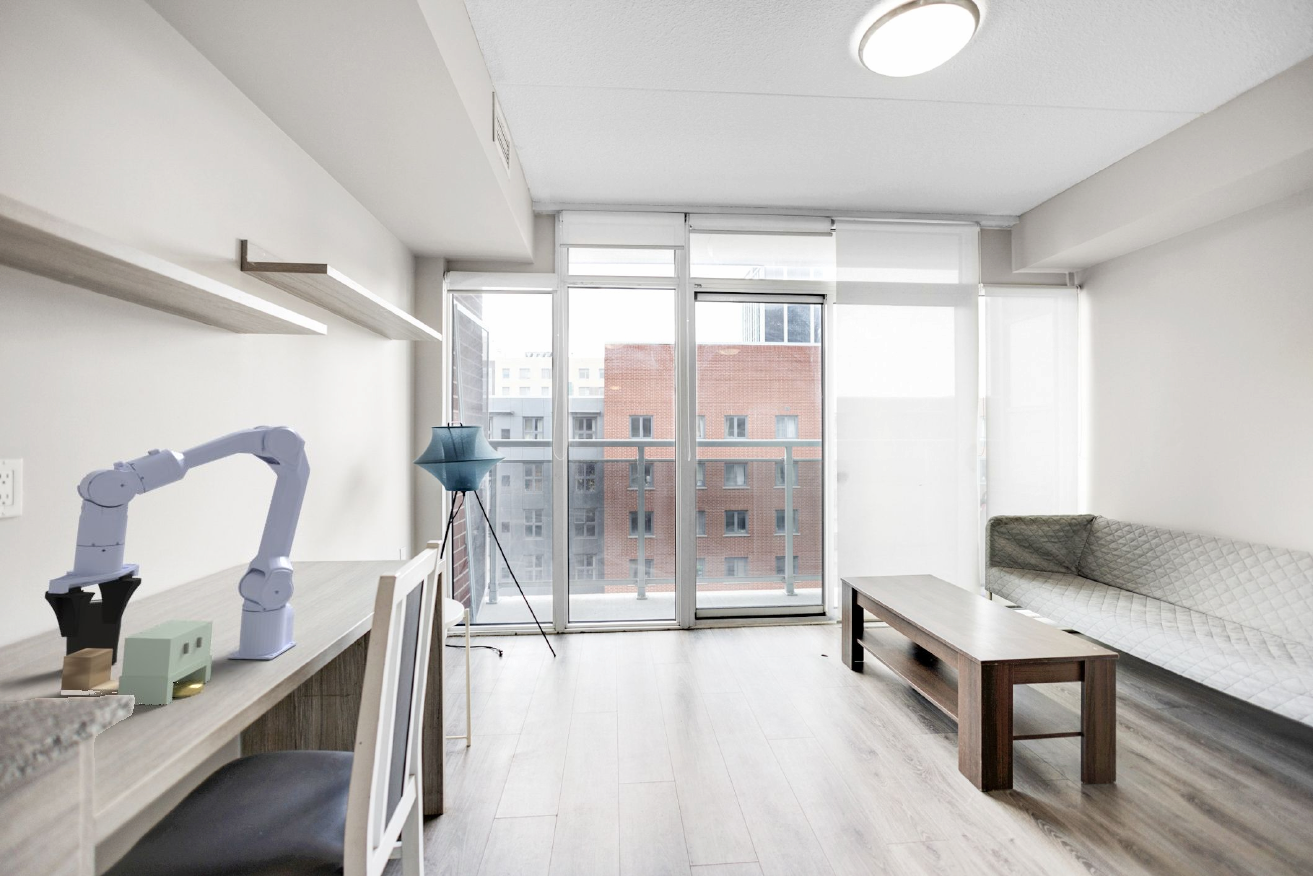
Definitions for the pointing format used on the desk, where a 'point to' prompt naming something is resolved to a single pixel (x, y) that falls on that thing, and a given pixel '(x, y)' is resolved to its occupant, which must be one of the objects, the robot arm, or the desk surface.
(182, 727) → the desk surface
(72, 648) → the battery charger
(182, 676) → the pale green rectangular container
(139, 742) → the desk surface
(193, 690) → the disc
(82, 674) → the wooden rectangular block
